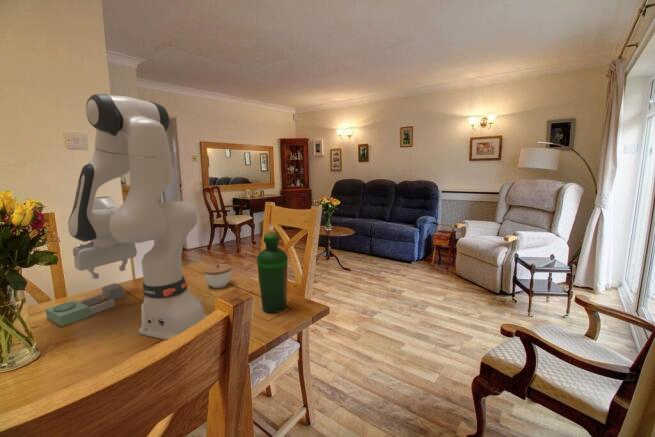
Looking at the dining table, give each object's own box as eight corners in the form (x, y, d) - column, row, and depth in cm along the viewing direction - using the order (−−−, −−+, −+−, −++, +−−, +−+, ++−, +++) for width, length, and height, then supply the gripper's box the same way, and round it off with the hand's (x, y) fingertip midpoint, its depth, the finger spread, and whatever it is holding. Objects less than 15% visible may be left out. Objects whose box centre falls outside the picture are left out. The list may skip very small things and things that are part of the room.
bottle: (295, 305, 113) (293, 229, 108) (275, 318, 104) (271, 236, 99) (273, 298, 119) (270, 226, 114) (252, 310, 110) (248, 232, 105)
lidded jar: (216, 279, 139) (215, 259, 137) (237, 282, 136) (236, 261, 134) (199, 288, 129) (198, 267, 127) (222, 291, 126) (220, 269, 124)
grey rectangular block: (124, 296, 122) (122, 286, 121) (111, 301, 118) (109, 290, 118) (116, 293, 125) (114, 283, 124) (103, 298, 121) (101, 287, 121)
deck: (115, 306, 114) (114, 296, 113) (62, 326, 100) (59, 314, 99) (100, 300, 119) (98, 290, 118) (47, 318, 105) (45, 307, 105)
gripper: (76, 247, 107) (82, 285, 110) (137, 235, 125) (140, 268, 127) (67, 244, 110) (73, 281, 113) (128, 233, 128) (131, 265, 131)
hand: (109, 274), depth 120 cm, fingers open, 8 cm apart
